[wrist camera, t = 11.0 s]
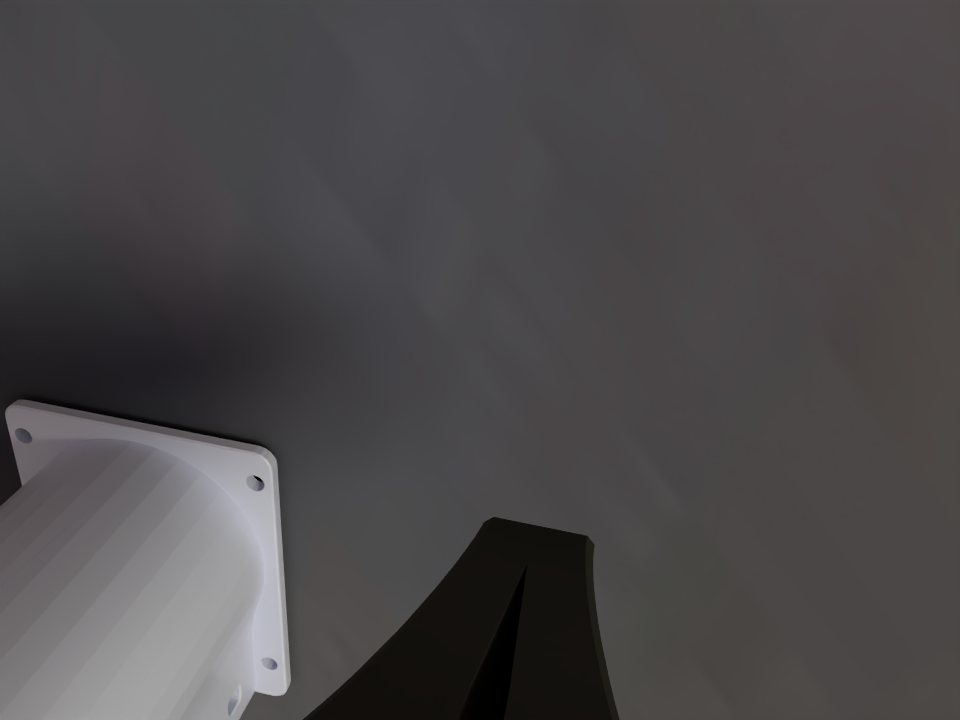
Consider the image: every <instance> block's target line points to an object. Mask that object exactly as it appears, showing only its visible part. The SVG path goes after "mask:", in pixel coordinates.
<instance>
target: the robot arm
mask: <svg viewBox="0 0 960 720" xmlns="http://www.w3.org/2000/svg"><path fill="white" fill-rule="evenodd" d="M5 418H6V422H7V426H8V430H9V434H10V438H11V442H12V446H13V451H14V455H15V459H16V463H17V467H18V471H19V475H20V479H21V483H22V487H21V488H20V489H19V490H18V491H17V492H16V493H15V494H13V495H12V496H11V497H10V498H9V499H8V500H7V501H6V502H5V503H4V504H2V505H1V506H0V720H239V719H240V717H241V715H242V713H243V712H244V710H245V708H246V706H247V704H248V703H249V701H250V699H251V697H252V695H253V694H254V692H255V691H256V692H260V693H264V694H268V695H273V696H280V695H283V694H284V693H285V692H286V691H287V689H288V687H289V685H290V682H291V677H290V661H289V645H288V629H287V613H286V597H285V581H284V565H283V549H282V533H281V517H280V501H279V485H278V469H277V462H276V458H275V457H274V456H273V454H272V453H271V452H270V451H268V450H267V449H266V448H263V447H261V446H257V445H252V444H247V443H242V442H237V441H232V440H227V439H222V438H217V437H212V436H207V435H202V434H197V433H191V432H186V431H181V430H176V429H171V428H166V427H161V426H156V425H151V424H146V423H141V422H136V421H131V420H126V419H120V418H115V417H110V416H105V415H100V414H95V413H90V412H85V411H80V410H75V409H70V408H65V407H60V406H55V405H49V404H44V403H39V402H34V401H29V400H17V401H15V402H14V403H12V404H11V405H10V406H9V407H7V409H6V411H5ZM26 430H27V431H28V432H29V433H30V434H29V433H28V432H27V431H26ZM253 475H255V476H257V477H259V478H260V479H262V480H263V482H260V481H258V480H257V479H256V478H255V477H254V476H253ZM593 553H594V544H593V542H592V541H591V540H590V539H589V537H588V536H586V535H581V534H576V533H571V532H566V531H561V530H556V529H551V528H546V527H541V526H536V525H531V524H526V523H521V522H516V521H511V520H506V519H501V518H496V517H493V518H491V519H489V520H487V521H485V522H484V523H483V525H482V527H481V528H480V530H479V532H478V533H477V535H476V536H475V538H474V539H473V540H472V542H471V543H470V545H469V546H468V548H467V549H466V550H465V552H464V553H463V554H462V556H461V557H460V558H459V560H458V561H457V562H456V564H455V565H454V566H453V567H452V569H451V570H450V571H449V572H448V574H447V575H446V576H445V577H444V579H443V580H442V581H441V582H440V584H439V585H438V586H437V587H436V588H435V589H434V591H433V592H432V593H431V594H430V595H429V596H428V597H427V599H426V600H425V601H424V602H423V603H422V604H421V605H420V606H419V608H418V609H417V610H416V611H415V612H414V613H413V614H412V616H411V617H410V618H409V619H408V620H407V621H406V622H405V623H404V624H403V626H402V627H401V628H400V629H399V630H398V631H397V632H396V633H395V634H394V635H393V636H392V637H391V638H390V639H389V640H388V641H387V642H386V643H385V644H384V645H383V646H382V647H381V648H380V649H379V650H378V651H377V652H376V653H375V654H374V655H373V656H372V657H371V658H370V659H369V660H368V661H367V662H366V663H365V664H364V665H363V666H362V667H361V668H360V669H359V670H358V671H357V672H356V673H355V674H354V675H353V676H352V677H351V678H350V679H348V680H347V681H346V682H345V683H344V684H343V685H342V686H341V687H340V688H339V689H338V690H336V691H335V692H334V693H333V694H332V695H331V696H330V697H329V698H327V699H326V700H325V701H324V702H323V703H322V704H321V705H319V706H318V707H317V708H316V709H315V710H313V711H312V712H311V713H310V714H309V715H308V716H306V717H305V718H304V719H303V720H619V716H618V713H617V709H616V705H615V701H614V697H613V693H612V689H611V685H610V681H609V676H608V671H607V666H606V661H605V657H604V652H603V647H602V642H601V637H600V631H599V625H598V618H597V610H596V602H595V594H594V581H593Z"/></svg>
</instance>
